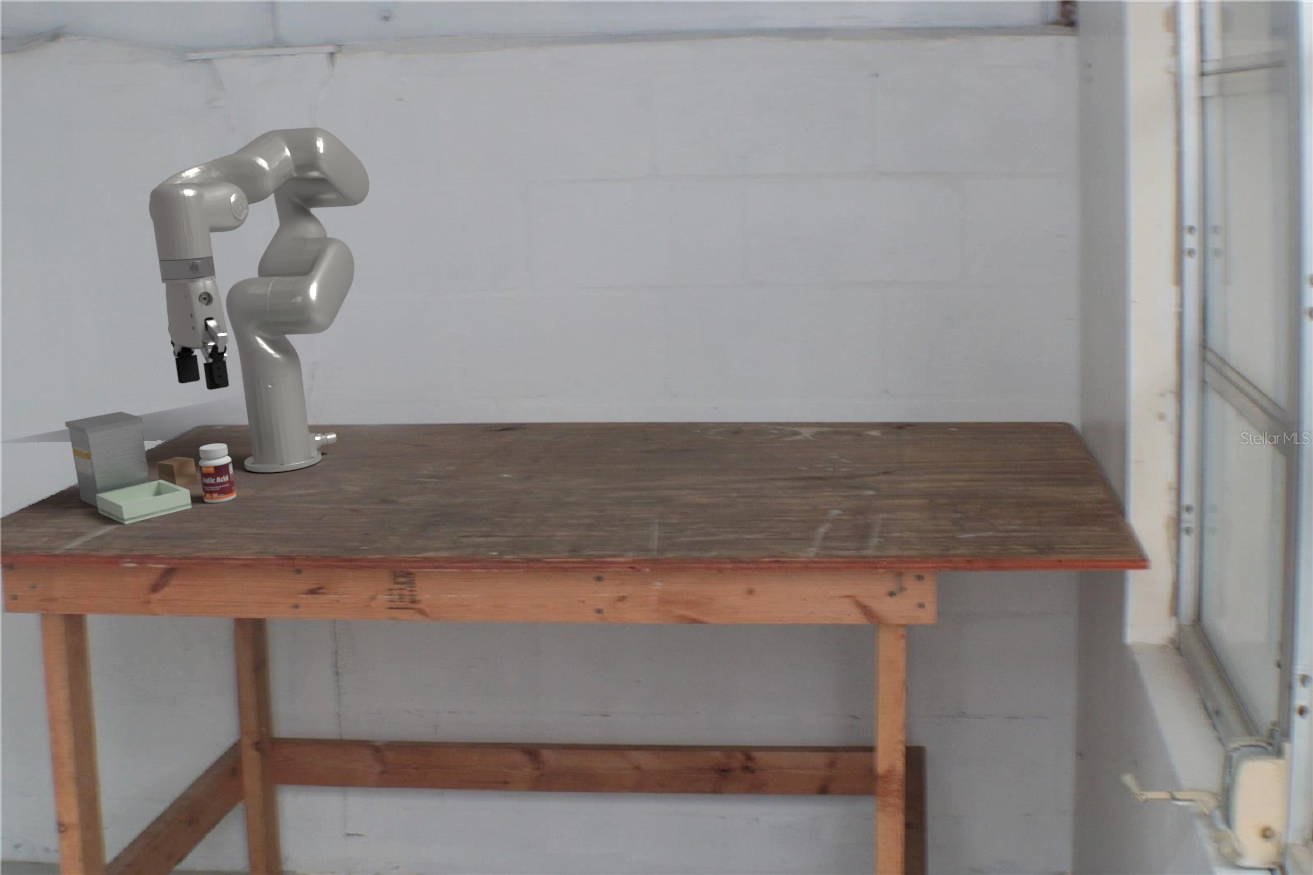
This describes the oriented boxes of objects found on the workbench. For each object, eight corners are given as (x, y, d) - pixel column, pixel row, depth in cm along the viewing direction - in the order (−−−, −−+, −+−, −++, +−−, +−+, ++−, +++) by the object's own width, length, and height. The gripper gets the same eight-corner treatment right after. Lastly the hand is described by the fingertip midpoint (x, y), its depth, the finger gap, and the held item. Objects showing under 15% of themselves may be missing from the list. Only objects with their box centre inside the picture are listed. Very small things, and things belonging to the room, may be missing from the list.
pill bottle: (202, 505, 184) (195, 451, 182) (205, 497, 188) (197, 444, 186) (235, 501, 185) (228, 447, 183) (237, 493, 190) (230, 441, 188)
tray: (163, 496, 190) (161, 479, 189) (191, 507, 183) (189, 489, 182) (98, 512, 183) (95, 494, 182) (125, 524, 176) (122, 505, 175)
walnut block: (180, 480, 200) (177, 456, 199) (197, 482, 198) (193, 458, 197) (160, 486, 197) (156, 462, 196) (176, 488, 195) (173, 464, 194)
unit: (134, 487, 197) (122, 411, 194) (156, 495, 191) (144, 417, 188) (77, 500, 191) (64, 422, 188) (98, 509, 185) (85, 429, 182)
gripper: (238, 270, 175) (253, 386, 179) (187, 266, 187) (202, 375, 191) (188, 275, 170) (205, 395, 174) (138, 271, 182) (155, 383, 186)
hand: (203, 385), depth 182 cm, fingers open, 9 cm apart
